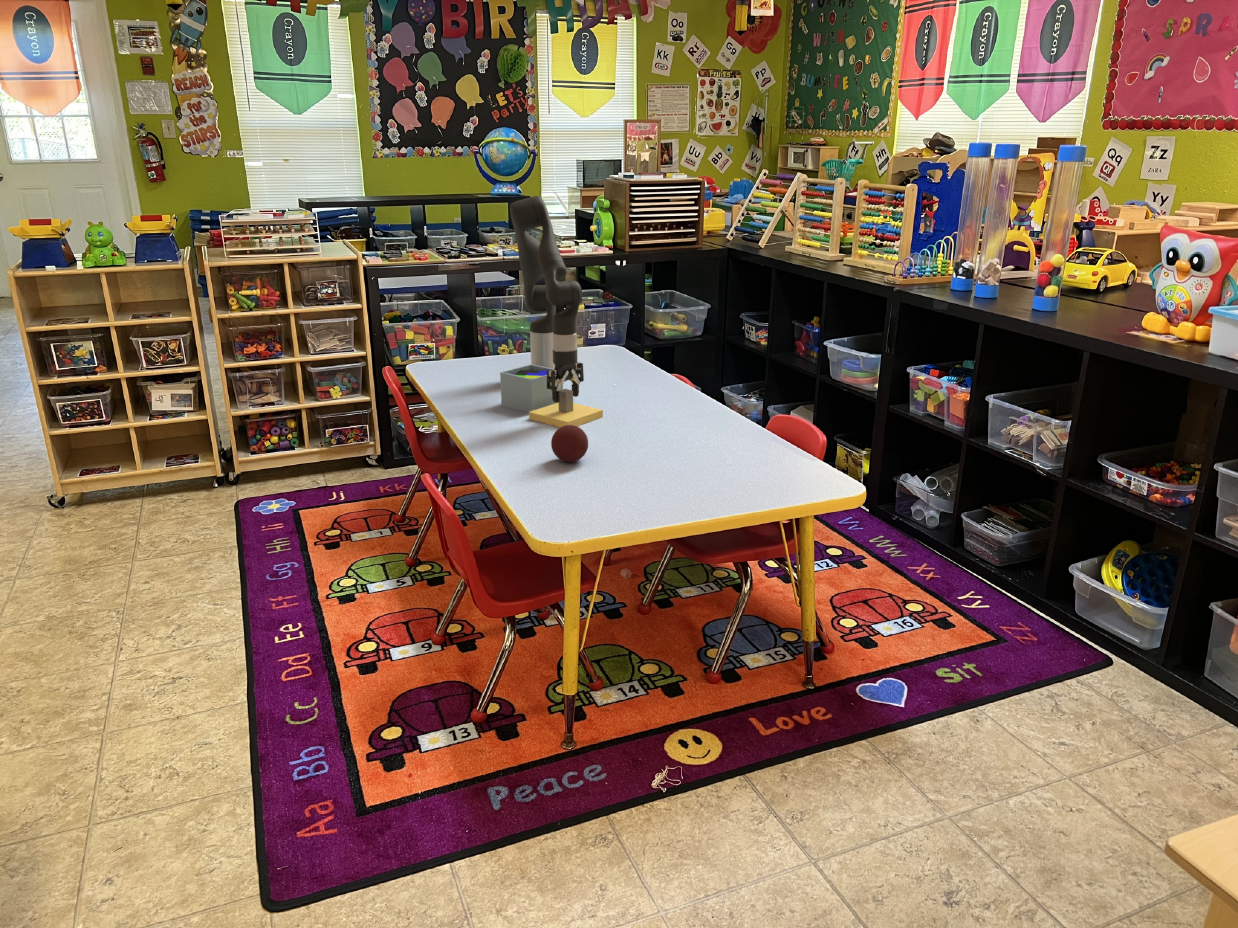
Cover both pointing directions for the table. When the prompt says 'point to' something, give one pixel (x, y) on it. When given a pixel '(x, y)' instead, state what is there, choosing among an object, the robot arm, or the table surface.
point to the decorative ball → (569, 443)
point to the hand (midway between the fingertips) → (565, 399)
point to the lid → (566, 412)
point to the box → (525, 389)
